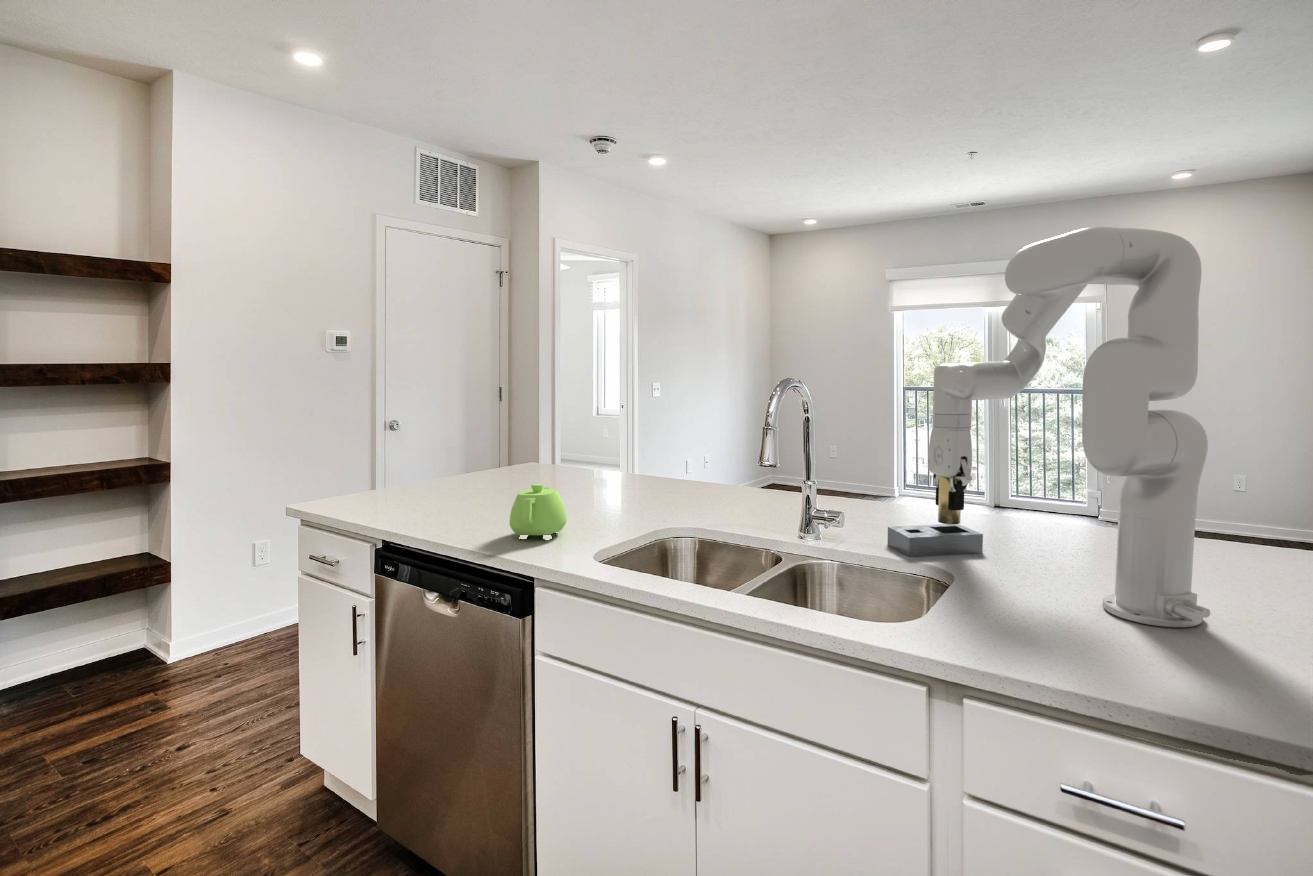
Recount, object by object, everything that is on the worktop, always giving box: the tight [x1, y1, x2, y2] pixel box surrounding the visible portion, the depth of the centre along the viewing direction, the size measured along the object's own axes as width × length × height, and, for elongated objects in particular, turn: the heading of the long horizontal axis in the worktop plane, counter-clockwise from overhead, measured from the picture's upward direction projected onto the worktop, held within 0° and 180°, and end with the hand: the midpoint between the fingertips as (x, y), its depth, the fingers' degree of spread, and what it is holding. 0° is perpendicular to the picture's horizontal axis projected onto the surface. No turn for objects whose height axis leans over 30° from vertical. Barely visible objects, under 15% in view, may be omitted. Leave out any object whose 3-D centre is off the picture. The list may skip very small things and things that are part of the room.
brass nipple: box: [937, 474, 962, 525], centre depth 146 cm, size 4×4×12 cm
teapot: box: [509, 483, 568, 536], centre depth 165 cm, size 20×13×13 cm
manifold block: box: [887, 523, 984, 558], centre depth 146 cm, size 10×16×4 cm, turn 96°
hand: (949, 506), depth 146 cm, fingers closed on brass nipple, 4 cm apart
